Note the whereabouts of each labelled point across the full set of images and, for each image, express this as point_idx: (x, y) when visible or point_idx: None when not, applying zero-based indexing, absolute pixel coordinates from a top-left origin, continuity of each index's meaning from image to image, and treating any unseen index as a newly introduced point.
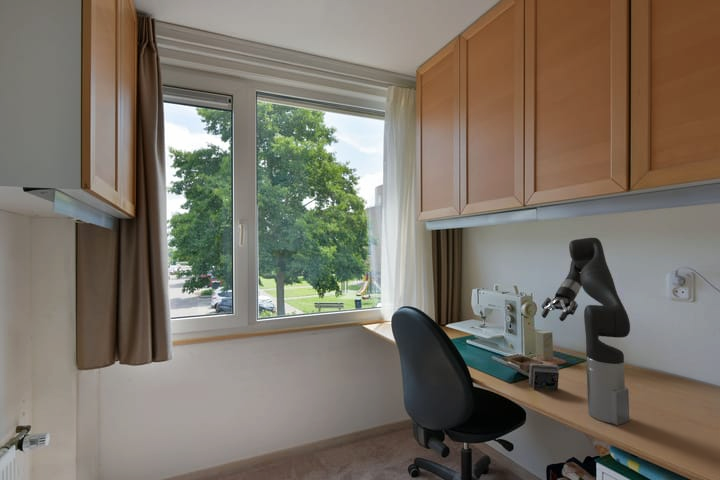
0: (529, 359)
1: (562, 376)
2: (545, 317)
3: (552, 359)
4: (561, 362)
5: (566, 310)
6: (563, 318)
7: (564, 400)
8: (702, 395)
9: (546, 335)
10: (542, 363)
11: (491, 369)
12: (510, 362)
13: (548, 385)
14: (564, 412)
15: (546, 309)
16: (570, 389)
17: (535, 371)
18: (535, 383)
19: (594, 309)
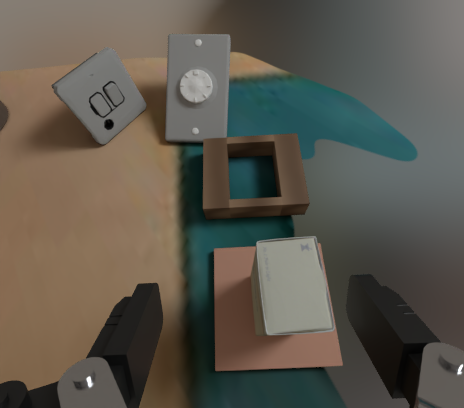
0: (252, 200)
1: (137, 222)
2: (350, 321)
3: (254, 329)
4: (215, 334)
5: (58, 383)
6: (121, 309)
7: (60, 112)
8: None
9: (257, 270)
10: (203, 208)
11: (267, 100)
12: (195, 69)
13: (107, 121)
14: (39, 79)
15: (401, 345)
16: (77, 166)
17: (95, 54)
18: (134, 110)
19: None
